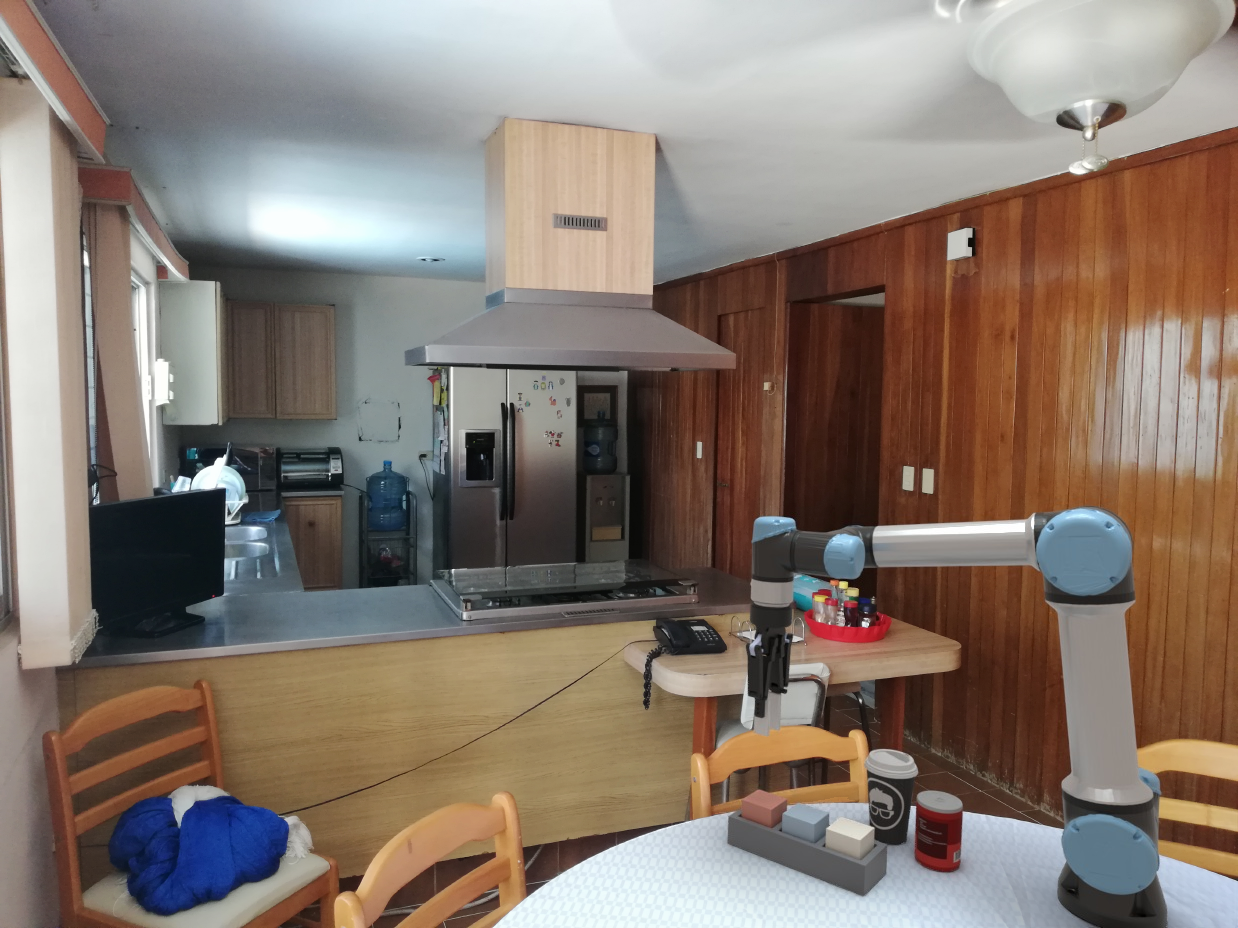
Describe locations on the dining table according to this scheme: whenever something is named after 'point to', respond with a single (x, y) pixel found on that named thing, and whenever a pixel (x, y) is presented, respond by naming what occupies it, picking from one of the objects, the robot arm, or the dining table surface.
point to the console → (809, 855)
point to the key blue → (805, 822)
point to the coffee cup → (890, 794)
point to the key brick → (764, 808)
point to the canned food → (938, 830)
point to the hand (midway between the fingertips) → (767, 730)
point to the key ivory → (850, 838)
